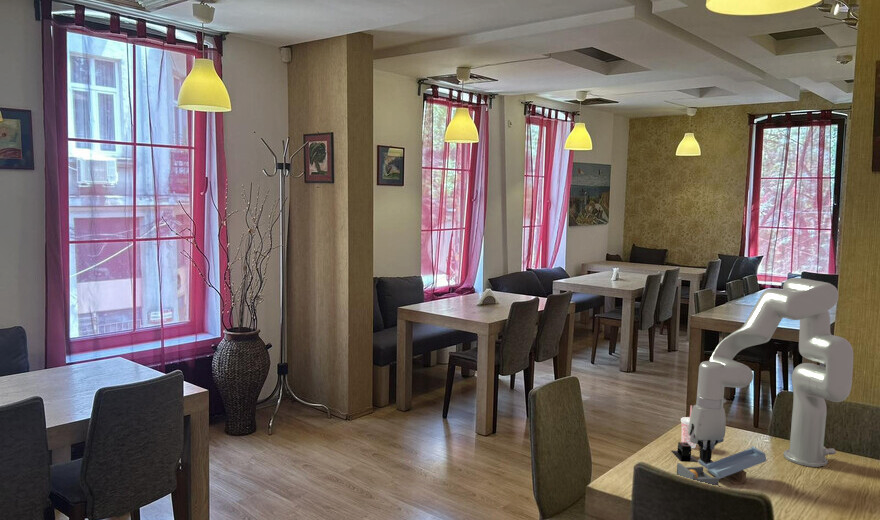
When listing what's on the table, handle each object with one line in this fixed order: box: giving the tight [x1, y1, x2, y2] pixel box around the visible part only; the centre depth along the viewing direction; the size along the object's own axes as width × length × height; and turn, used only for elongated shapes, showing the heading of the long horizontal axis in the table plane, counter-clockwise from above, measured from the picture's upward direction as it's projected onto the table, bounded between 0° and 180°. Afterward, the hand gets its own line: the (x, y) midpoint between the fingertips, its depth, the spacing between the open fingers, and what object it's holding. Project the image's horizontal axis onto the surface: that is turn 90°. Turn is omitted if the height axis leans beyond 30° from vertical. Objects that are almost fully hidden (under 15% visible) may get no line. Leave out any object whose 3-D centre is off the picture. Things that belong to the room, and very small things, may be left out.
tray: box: [676, 462, 720, 486], centre depth 199 cm, size 8×8×4 cm
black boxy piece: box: [670, 441, 699, 463], centre depth 218 cm, size 12×7×5 cm, turn 1°
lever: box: [697, 446, 767, 480], centre depth 204 cm, size 16×11×3 cm
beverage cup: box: [680, 405, 697, 449], centre depth 227 cm, size 6×6×14 cm
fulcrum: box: [723, 470, 753, 486], centre depth 201 cm, size 6×7×4 cm
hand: (705, 460), depth 206 cm, fingers closed
